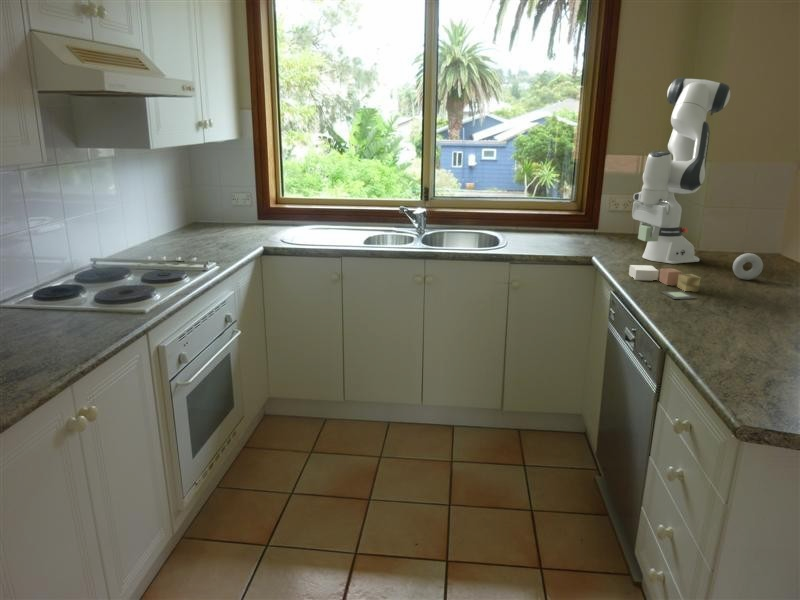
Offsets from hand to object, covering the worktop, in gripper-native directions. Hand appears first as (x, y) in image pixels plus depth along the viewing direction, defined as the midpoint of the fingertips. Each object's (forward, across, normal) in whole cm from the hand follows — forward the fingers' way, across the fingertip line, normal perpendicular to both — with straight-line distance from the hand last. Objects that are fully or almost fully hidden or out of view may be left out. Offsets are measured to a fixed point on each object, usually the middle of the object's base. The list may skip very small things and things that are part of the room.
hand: (648, 235), depth 220 cm
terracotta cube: (+16, -9, -5) cm, 19 cm away
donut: (+16, -7, -37) cm, 41 cm away
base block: (+16, 0, 0) cm, 16 cm away
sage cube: (+2, 0, 0) cm, 2 cm away
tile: (+16, -24, +1) cm, 29 cm away
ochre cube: (+16, -17, -7) cm, 24 cm away
